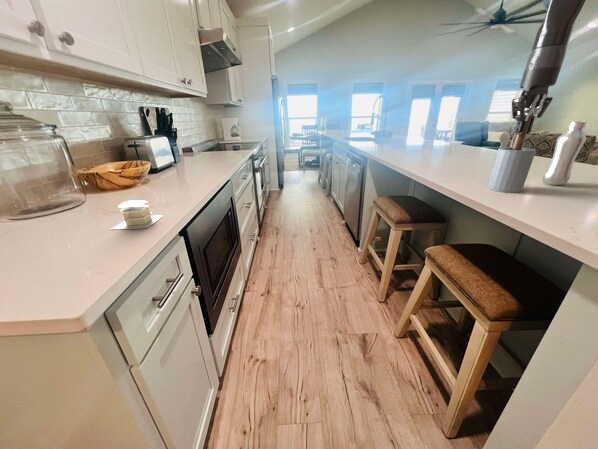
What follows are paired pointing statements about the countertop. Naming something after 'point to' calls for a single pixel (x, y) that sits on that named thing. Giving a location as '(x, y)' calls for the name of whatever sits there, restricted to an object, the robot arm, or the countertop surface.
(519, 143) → the brush
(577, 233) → the countertop surface
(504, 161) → the cup
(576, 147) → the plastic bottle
